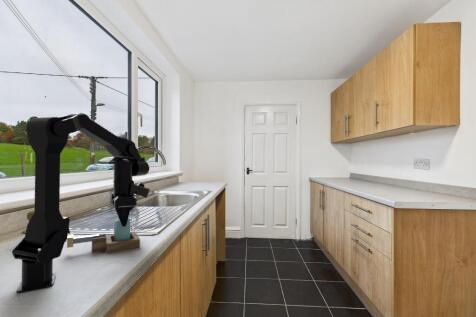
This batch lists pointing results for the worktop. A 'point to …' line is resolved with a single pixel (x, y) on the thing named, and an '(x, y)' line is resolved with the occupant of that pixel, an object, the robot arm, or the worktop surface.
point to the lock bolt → (79, 239)
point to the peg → (121, 230)
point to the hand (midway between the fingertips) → (122, 223)
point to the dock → (114, 243)
